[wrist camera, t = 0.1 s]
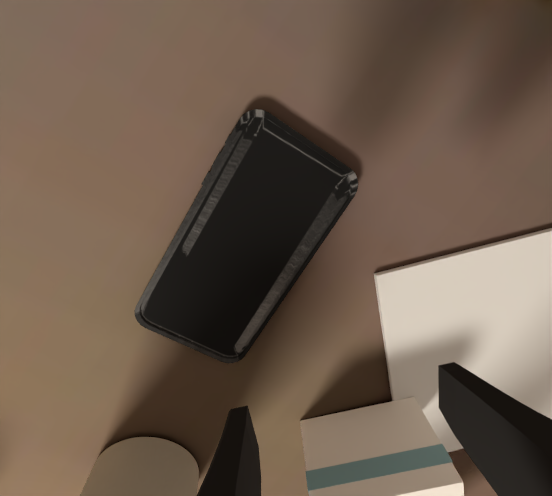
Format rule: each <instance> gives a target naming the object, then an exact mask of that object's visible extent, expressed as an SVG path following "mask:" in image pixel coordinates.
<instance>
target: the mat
mask: <svg viewBox="0 0 552 496" xmlns="http://www.w3.org/2000/svg"><path fill="white" fill-rule="evenodd" d="M374 278H375V285H376V292H377V299H378V306H379V313H380V320H381V327H382V334H383V341H384V348H385V355H386V361H387V368H388V375H389V382H390V389H391V396H392V401H396V400H401V399H406V398H410V397H415V399H416V401H417V402H418V404H419V406H420V407H421V409H422V411H423V413H424V414H425V416H426V418H427V420H428V421H429V423H430V425H431V427H432V428H433V430H434V432H435V434H436V435H437V437H438V439H439V441H440V442H441V444H443V446H444V447H445V449H446V451H447V453H448V452H452V451H455V450H459V449H463V447H462V445H461V444H460V442H459V441H458V440H457V438H456V437H455V435H454V434H453V432H452V430H451V429H450V427H449V425H448V423H447V422H446V420H445V418H444V416H443V414H442V413H441V411H440V409H439V388H438V365H442V364H447V363H452V362H455V363H457V364H458V365H460V366H462V367H463V368H465V369H467V370H468V371H470V372H471V373H473V374H475V375H476V376H478V377H479V378H481V379H483V380H484V381H486V382H488V383H489V384H491V385H492V386H494V387H496V388H497V389H499V390H501V391H502V392H504V393H506V394H507V395H509V396H511V397H512V398H514V399H516V400H518V401H519V402H521V403H523V404H524V405H526V406H528V407H530V408H532V409H533V410H535V411H537V412H539V413H541V414H543V415H544V416H546V417H548V418H550V419H552V228H549V229H545V230H542V231H538V232H534V233H530V234H526V235H522V236H518V237H514V238H510V239H506V240H503V241H499V242H495V243H491V244H487V245H483V246H479V247H475V248H471V249H467V250H464V251H460V252H456V253H452V254H448V255H444V256H440V257H436V258H432V259H428V260H425V261H421V262H417V263H413V264H409V265H405V266H401V267H397V268H393V269H389V270H386V271H382V272H378V273H374Z"/></svg>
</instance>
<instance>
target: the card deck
mask: <svg viewBox="0 0 552 496" xmlns="http://www.w3.org/2000/svg"><path fill="white" fill-rule="evenodd" d="M300 425H301V432H302V440H303V448H304V456H305V464H306V479H307V487H308V492H309V496H464V485H463V481H462V479H461V477H460V475H459V474H458V472H457V470H456V469H455V467H454V465H453V461H452V459H451V458H450V456H449V454H448V453H447V451H446V449H445V447H444V446H443V444H441V442H440V441H439V439H438V437H437V435H436V434H435V432H434V430H433V428H432V427H431V425H430V423H429V421H428V420H427V418H426V416H425V414H424V413H423V411H422V409H421V407H420V406H419V404H418V402H417V401H416V399H415V397H410V398H406V399H401V400H396V401H391V402H387V403H382V404H377V405H372V406H368V407H363V408H358V409H353V410H349V411H344V412H339V413H334V414H330V415H325V416H320V417H315V418H311V419H306V420H301V421H300Z"/></svg>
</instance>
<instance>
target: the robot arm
mask: <svg viewBox="0 0 552 496" xmlns="http://www.w3.org/2000/svg"><path fill="white" fill-rule="evenodd" d="M438 388H439V409H440V411H441V413H442V414H443V416H444V418H445V420H446V422H447V423H448V425H449V427H450V429H451V430H452V432H453V434H454V435H455V437H456V438H457V440H458V441H459V442H460V444H461V445H462V447H463V448H464V449H465V451H466V452H467V454H468V455H469V456H470V458H471V459H472V461H473V462H474V463H475V465H476V466H477V467H478V469H479V470H480V471H481V473H482V474H483V476H484V477H485V478H486V480H487V481H488V482H489V484H490V485H491V487H492V488H493V489H494V491H495V492H496V493H497V495H498V496H552V419H550V418H548V417H546V416H544V415H543V414H541V413H539V412H537V411H535V410H533V409H532V408H530V407H528V406H526V405H524V404H523V403H521V402H519V401H518V400H516V399H514V398H512V397H511V396H509V395H507V394H506V393H504V392H502V391H501V390H499V389H497V388H496V387H494V386H492V385H491V384H489V383H488V382H486V381H484V380H483V379H481V378H479V377H478V376H476V375H475V374H473V373H471V372H470V371H468V370H467V369H465V368H463V367H462V366H460V365H458V364H457V363H455V362H452V363H447V364H442V365H438ZM197 496H261V471H260V459H259V447H258V443H257V439H256V435H255V432H254V428H253V424H252V421H251V417H250V413H249V409H248V406H244V407H239V408H234V409H231V410H230V411H229V413H228V417H227V420H226V424H225V427H224V430H223V433H222V436H221V439H220V441H219V444H218V447H217V449H216V452H215V454H214V457H213V460H212V462H211V465H210V467H209V470H208V472H207V474H206V476H205V479H204V481H203V483H202V485H201V487H200V490H199V492H198V494H197Z"/></svg>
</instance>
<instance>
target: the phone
mask: <svg viewBox="0 0 552 496" xmlns="http://www.w3.org/2000/svg"><path fill="white" fill-rule="evenodd" d="M225 143H226V144H225V146H224V148H223V150H222V152H219V154H218V156H217V158H216V160H215V161H214V163H213V165H212V170H211V172H210V171H209V172H208V173H207V175H206V177H205V179H204V181H203V182H202V185H203V186H202V188H201V190H200V191H199V193H198V195H197V197H196V199H195V201H194V202H193V204H192V206H191V208H190V210H189V211H188V213H187V215H186V217H185V219H184V220H183V222H182V224H181V226H180V228H179V229H178V231H177V233H176V235H175V237H174V239H173V240H172V242H171V244H170V246H169V248H168V249H167V251H166V253H165V255H164V257H163V258H162V260H161V262H160V264H159V266H158V268H157V269H156V271H155V273H154V275H153V277H152V278H151V280H150V282H149V284H148V286H147V287H146V289H145V291H144V293H143V295H142V297H141V298H140V300H139V302H138V304H137V306H136V308H135V317H136V319H137V321H138V322H139V323H140V325H142V326H143V327H145V328H147V329H149V330H151V331H154V332H156V333H158V334H160V335H163V336H165V337H167V338H169V339H172V340H174V341H176V342H178V343H181V344H183V345H185V346H187V347H190V348H192V349H194V350H196V351H199V352H201V353H203V354H205V355H208V356H210V357H212V358H214V359H217V360H219V361H221V362H225V363H234V362H238V361H239V360H241V359H242V358H243V357H244V356H245V355H246V354H247V352H248V351H249V349H250V348H251V346H252V345H253V343H254V342H255V340H256V339H257V337H258V336H259V335H260V333H261V332H262V330H263V329H264V327H265V326H266V324H267V323H268V321H269V320H270V318H271V317H272V316H273V314H274V313H275V311H276V310H277V308H278V307H279V305H280V304H281V302H282V301H283V300H284V298H285V297H286V295H287V294H288V292H289V291H290V289H291V288H292V286H293V285H294V283H295V282H296V281H297V279H298V278H299V276H300V275H301V273H302V272H303V270H304V269H305V267H306V266H307V264H308V263H309V262H310V260H311V259H312V257H313V256H314V254H315V253H316V251H317V250H318V248H319V247H320V246H321V244H322V243H323V241H324V240H325V238H326V237H327V235H328V234H329V232H330V231H331V229H332V228H333V227H334V225H335V224H336V222H337V221H338V219H339V218H340V216H341V215H342V213H343V212H344V211H345V209H346V208H347V206H348V205H349V203H350V202H351V200H352V199H353V197H354V196H355V194H356V192H357V188H358V180H357V176H356V174H355V172H354V171H353V170H351V169H350V168H349V167H348V166H346V165H345V164H343V163H342V162H340V161H339V160H337V159H336V158H334V157H333V156H332V155H330V154H329V153H327V152H326V151H324V150H323V149H321V148H320V147H318V146H317V145H315V144H314V143H313V142H311V141H310V140H308V139H307V138H305V137H304V136H302V135H301V134H299V133H298V132H296V131H295V130H293V129H292V128H291V127H289V126H288V125H286V124H285V123H283V122H282V121H280V120H279V119H277V118H276V117H274V116H273V115H272V114H270V113H268V112H266V111H264V110H259V109H254V110H250V111H248V112H246V113H245V114H243V116H242V117H241V118H240V119H239V121H238V123H237V124H236V126H235V128H234V130H233V132H232V133H231V134H230V135H229V137H228V138H227V140H226V142H225Z"/></svg>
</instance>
